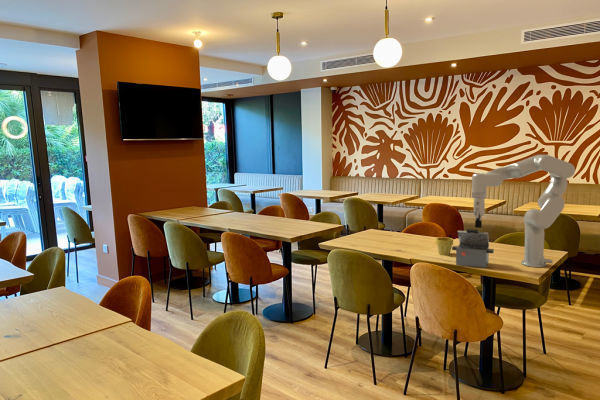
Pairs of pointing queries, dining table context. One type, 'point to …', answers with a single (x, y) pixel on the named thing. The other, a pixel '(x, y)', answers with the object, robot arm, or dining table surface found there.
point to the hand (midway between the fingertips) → (478, 227)
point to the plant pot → (444, 245)
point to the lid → (473, 237)
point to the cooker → (472, 255)
